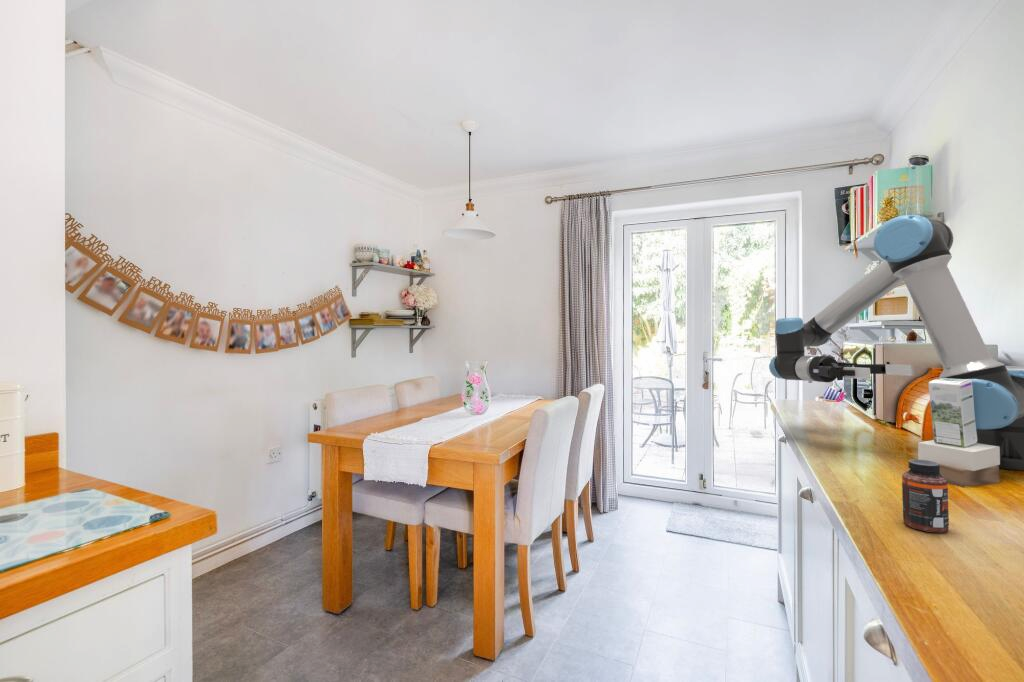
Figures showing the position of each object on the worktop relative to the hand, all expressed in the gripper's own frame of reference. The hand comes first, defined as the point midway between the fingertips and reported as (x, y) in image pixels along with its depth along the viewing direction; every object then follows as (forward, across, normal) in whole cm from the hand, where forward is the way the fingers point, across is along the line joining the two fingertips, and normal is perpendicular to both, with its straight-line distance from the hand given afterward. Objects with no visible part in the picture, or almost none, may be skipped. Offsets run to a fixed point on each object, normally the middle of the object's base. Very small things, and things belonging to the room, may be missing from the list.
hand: (891, 372), depth 115 cm
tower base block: (+11, -2, -24) cm, 27 cm away
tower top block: (+11, -3, -20) cm, 23 cm away
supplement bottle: (+29, +31, -24) cm, 48 cm away
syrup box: (+11, -4, -16) cm, 20 cm away
